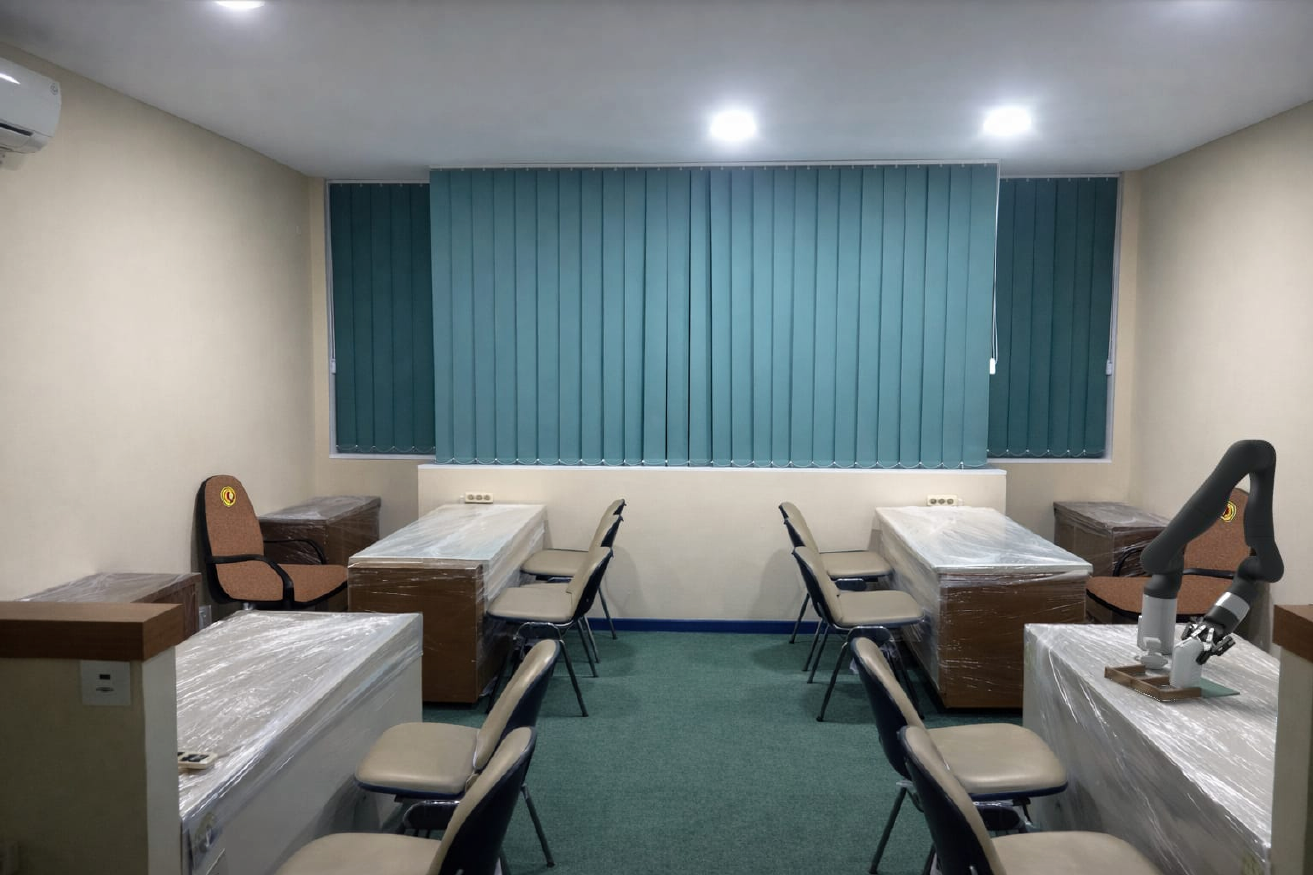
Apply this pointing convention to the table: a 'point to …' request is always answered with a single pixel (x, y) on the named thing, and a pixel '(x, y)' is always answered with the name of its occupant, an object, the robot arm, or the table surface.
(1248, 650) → the table surface
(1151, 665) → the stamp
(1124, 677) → the lane rack
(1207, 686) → the mat
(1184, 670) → the photo printer
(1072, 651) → the table surface
